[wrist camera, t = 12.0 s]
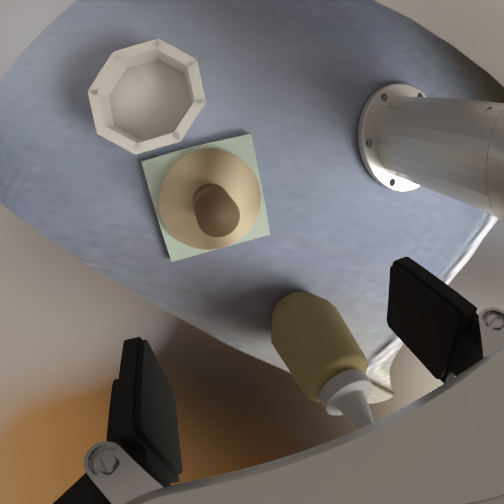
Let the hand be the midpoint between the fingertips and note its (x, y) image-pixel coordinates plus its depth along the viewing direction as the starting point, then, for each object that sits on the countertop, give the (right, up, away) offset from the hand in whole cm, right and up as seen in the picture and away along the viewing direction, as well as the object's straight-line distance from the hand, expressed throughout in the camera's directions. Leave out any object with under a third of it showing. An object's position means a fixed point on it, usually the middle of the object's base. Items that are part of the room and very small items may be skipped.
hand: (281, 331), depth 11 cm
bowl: (-10, +16, +13) cm, 23 cm away
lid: (-5, +8, +17) cm, 19 cm away
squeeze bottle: (+4, -4, +26) cm, 27 cm away
